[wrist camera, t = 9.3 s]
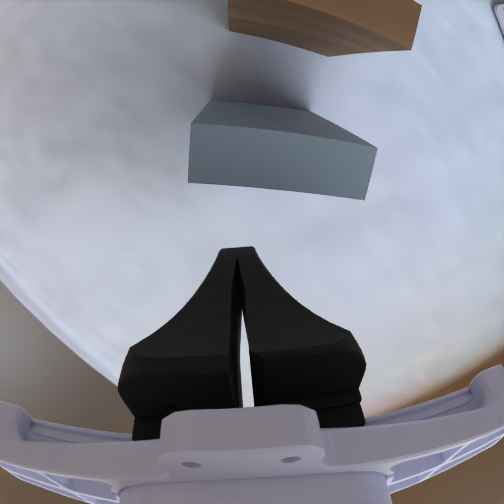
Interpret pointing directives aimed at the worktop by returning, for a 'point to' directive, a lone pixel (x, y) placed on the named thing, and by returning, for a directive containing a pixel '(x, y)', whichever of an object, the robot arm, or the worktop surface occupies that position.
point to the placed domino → (277, 151)
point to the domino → (329, 23)
